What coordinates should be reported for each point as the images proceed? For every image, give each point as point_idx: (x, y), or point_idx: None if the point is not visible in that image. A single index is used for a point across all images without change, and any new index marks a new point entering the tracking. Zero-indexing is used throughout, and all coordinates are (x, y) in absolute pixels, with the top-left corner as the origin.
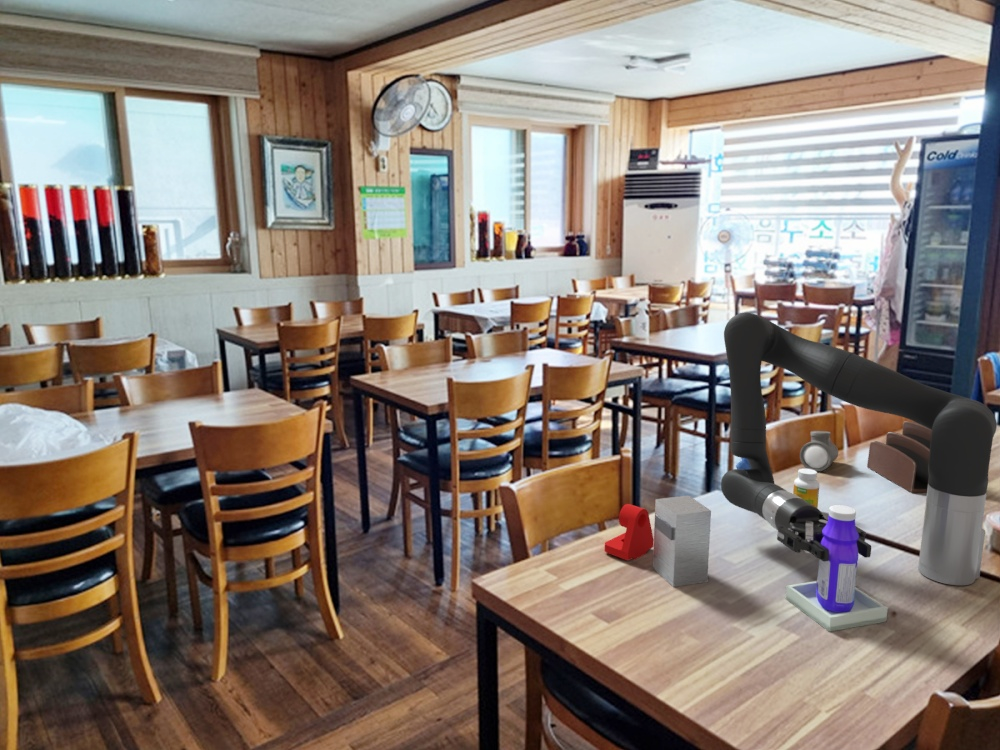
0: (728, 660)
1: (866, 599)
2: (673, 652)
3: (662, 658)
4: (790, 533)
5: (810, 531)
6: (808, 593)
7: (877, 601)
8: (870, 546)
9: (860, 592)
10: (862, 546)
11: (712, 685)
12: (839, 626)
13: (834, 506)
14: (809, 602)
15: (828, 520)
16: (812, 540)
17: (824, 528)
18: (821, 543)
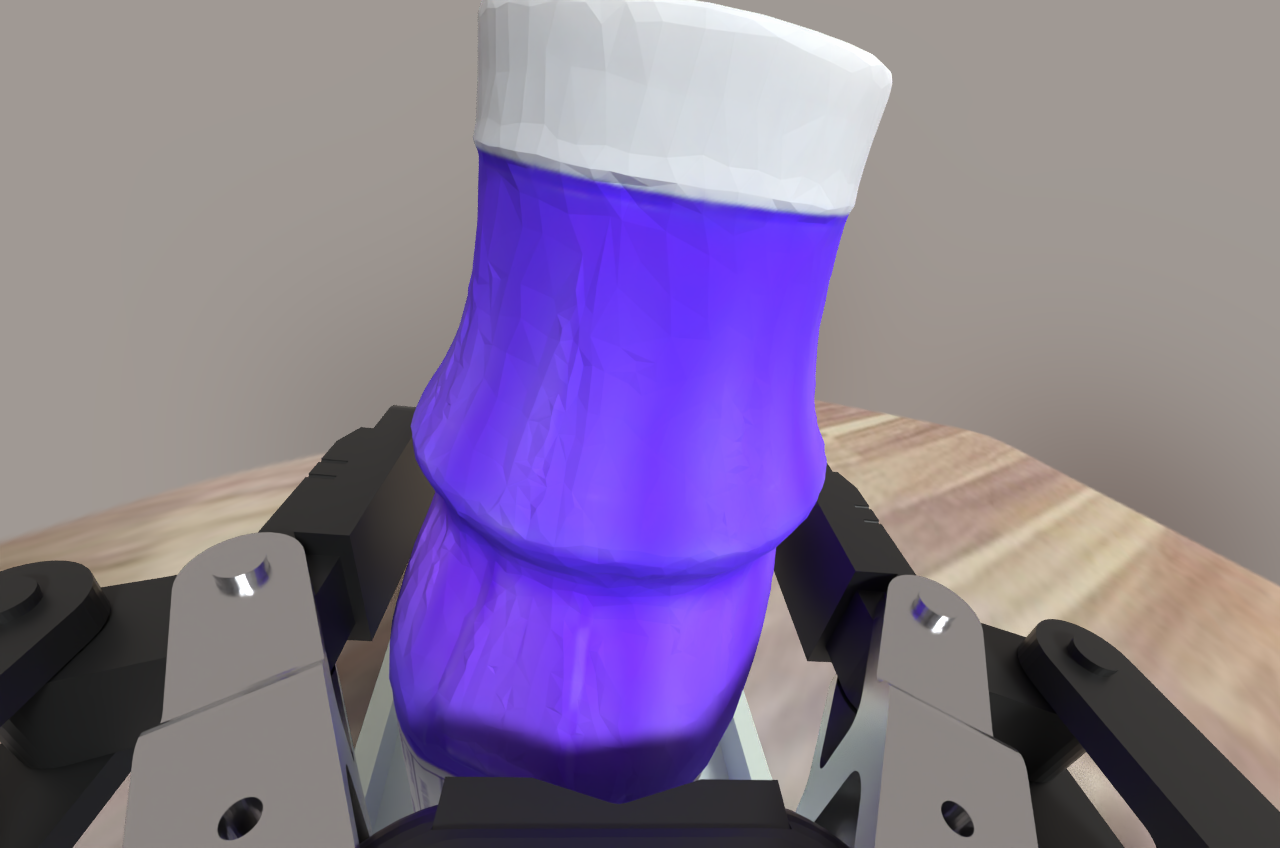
0: (1048, 585)
1: (388, 734)
2: (1236, 652)
3: (1248, 633)
4: (1269, 842)
5: (937, 710)
6: None
7: (385, 662)
8: (400, 406)
9: (364, 790)
10: (414, 463)
11: (1057, 523)
12: None
13: (781, 31)
14: (758, 740)
15: (825, 294)
16: (895, 580)
17: (814, 439)
18: (766, 608)
